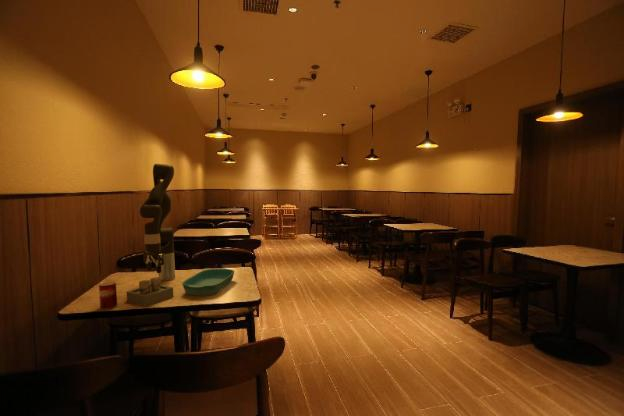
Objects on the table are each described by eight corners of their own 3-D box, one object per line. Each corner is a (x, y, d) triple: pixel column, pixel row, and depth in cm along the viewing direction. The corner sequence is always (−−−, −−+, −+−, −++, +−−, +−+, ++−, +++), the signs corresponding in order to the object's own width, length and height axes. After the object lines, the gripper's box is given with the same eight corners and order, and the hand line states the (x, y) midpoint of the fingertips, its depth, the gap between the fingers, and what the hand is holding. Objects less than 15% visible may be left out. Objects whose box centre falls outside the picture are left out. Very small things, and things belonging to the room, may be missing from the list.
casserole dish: (214, 299, 167) (214, 286, 166) (175, 298, 170) (174, 285, 169) (239, 279, 203) (239, 268, 203) (206, 278, 206) (206, 267, 206)
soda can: (105, 304, 161) (103, 281, 161) (120, 303, 162) (118, 280, 161) (96, 310, 154) (95, 285, 153) (112, 309, 155) (111, 285, 154)
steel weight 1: (137, 293, 165) (136, 282, 165) (146, 290, 169) (146, 279, 169) (143, 295, 162) (142, 283, 162) (152, 292, 167) (151, 281, 166)
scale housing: (126, 301, 166) (126, 291, 166) (155, 291, 180) (154, 283, 179) (145, 306, 158) (144, 296, 158) (173, 296, 172) (173, 287, 171)
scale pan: (132, 295, 166) (132, 292, 166) (153, 289, 177) (153, 286, 177) (146, 299, 160) (146, 296, 160) (167, 292, 171) (167, 289, 171)
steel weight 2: (148, 290, 170) (147, 279, 169) (156, 287, 174) (155, 276, 174) (154, 291, 168) (154, 280, 167) (162, 288, 172) (162, 277, 172)
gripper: (138, 242, 170) (139, 271, 171) (154, 244, 162) (155, 275, 164) (151, 239, 176) (152, 268, 177) (167, 242, 169) (168, 271, 170)
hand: (154, 271), depth 170 cm, fingers open, 8 cm apart
